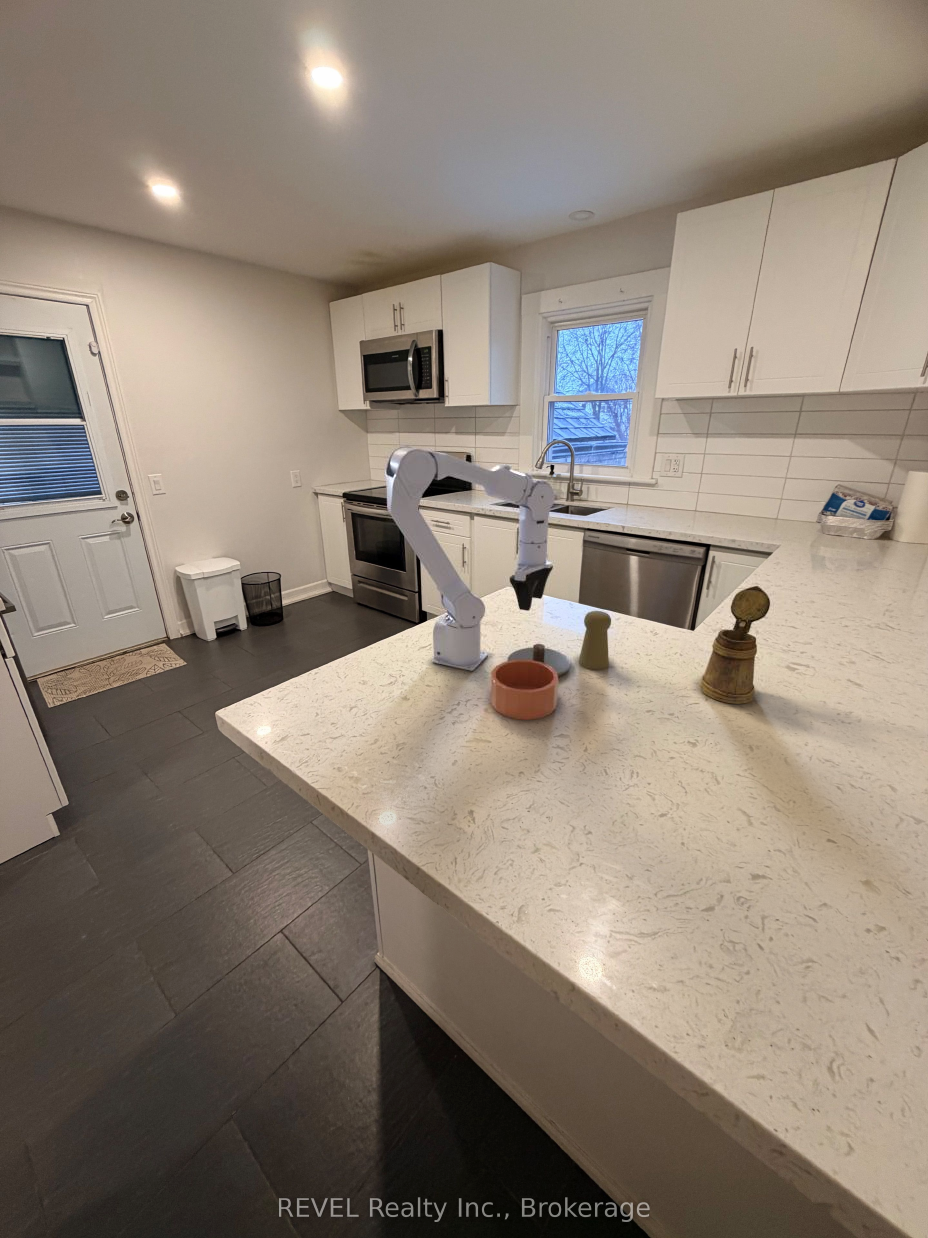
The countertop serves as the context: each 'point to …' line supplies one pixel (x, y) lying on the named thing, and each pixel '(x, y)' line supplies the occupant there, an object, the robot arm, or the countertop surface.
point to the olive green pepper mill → (595, 641)
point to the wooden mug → (736, 651)
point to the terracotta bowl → (524, 689)
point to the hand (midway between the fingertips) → (530, 603)
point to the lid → (543, 657)
